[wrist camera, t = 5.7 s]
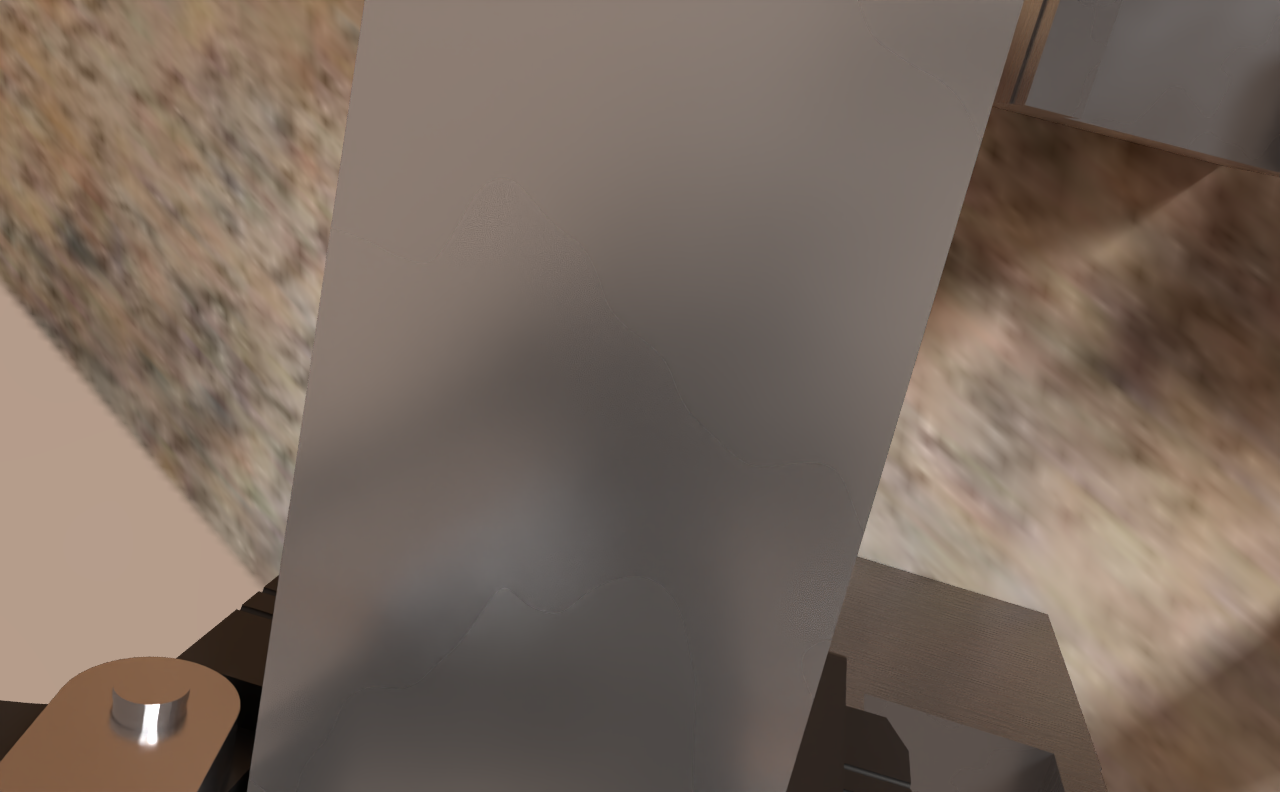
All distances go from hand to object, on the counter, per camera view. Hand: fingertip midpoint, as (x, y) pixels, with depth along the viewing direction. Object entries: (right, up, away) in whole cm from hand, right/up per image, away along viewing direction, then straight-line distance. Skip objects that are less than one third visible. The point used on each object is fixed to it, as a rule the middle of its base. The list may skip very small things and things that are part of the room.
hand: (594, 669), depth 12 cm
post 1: (+9, -4, +22) cm, 24 cm away
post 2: (+12, +11, +17) cm, 24 cm away
